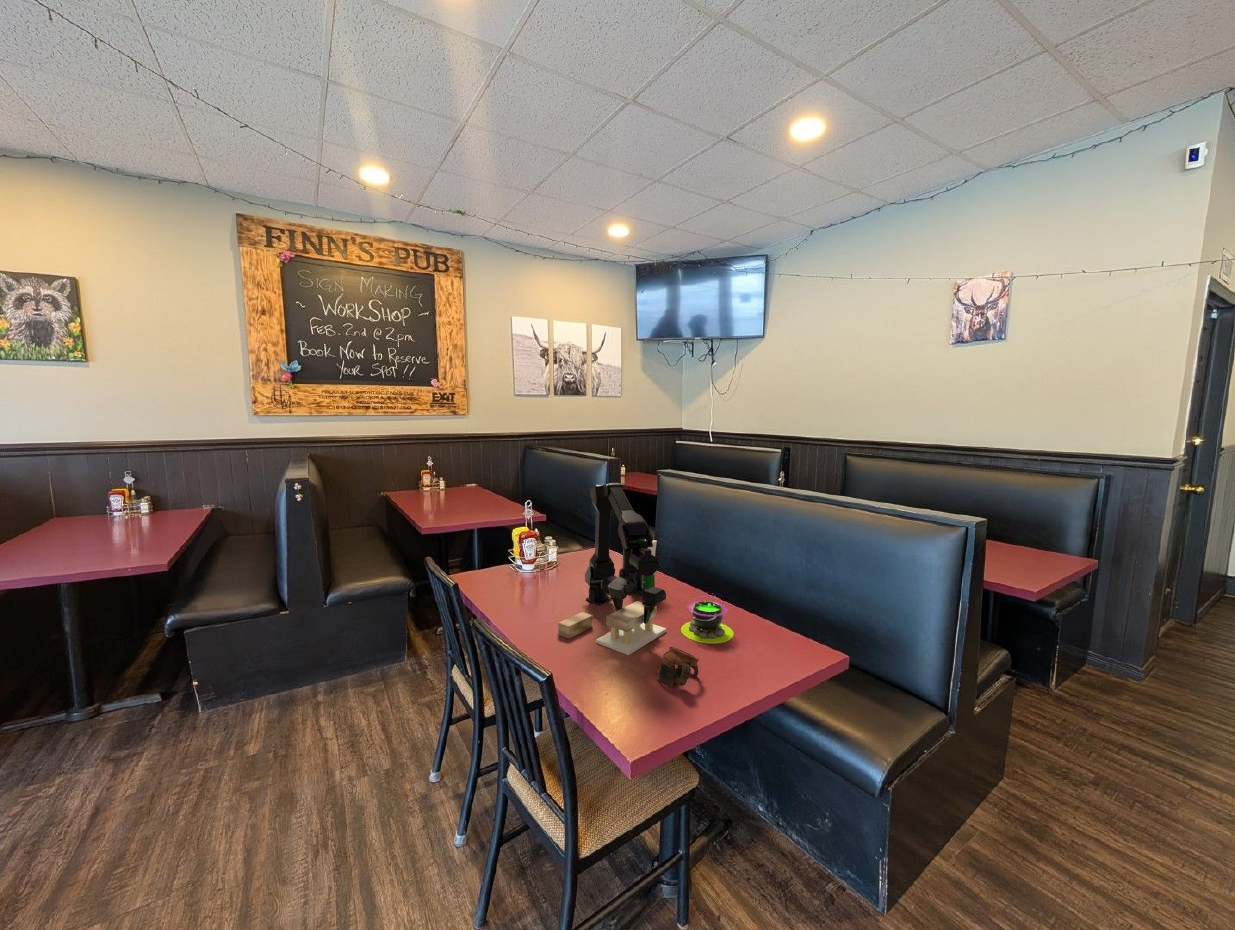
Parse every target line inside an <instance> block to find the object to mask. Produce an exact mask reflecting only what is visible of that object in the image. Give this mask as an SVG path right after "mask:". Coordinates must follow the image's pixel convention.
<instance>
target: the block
mask: <svg viewBox="0 0 1235 930" xmlns="http://www.w3.org/2000/svg"><path fill="white" fill-rule="evenodd" d="M593 616H594V615H593V614H590V613H587V612H584V611H582V612H579V613H577V614H574V615H572V616H570V617H568V618H566V619H564V620H561V621H559V622H558V624H557V625H558V632H557V633H558V636H561V637H564V638H566V639H568V640H569V639H571V638H573V637H575V636H577V635H579V634H581V633H582V632H583V633H584V632H585V631H587V630H589V629H591V628H593Z"/></svg>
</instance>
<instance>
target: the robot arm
mask: <svg viewBox="0 0 1235 930" xmlns="http://www.w3.org/2000/svg"><path fill="white" fill-rule="evenodd" d="M589 493H590V499H591V504H592V505H593V506H594V509H595V510H596V516H595V534H594V535H595V536H594V537H595V539H594V553H593V555H592V556H591V557H590V559H589V561H588V562H589V563H588V567H587V569H586V572H585V573H584V582H585V583H586V584H587V585H588V586H589V588H588V597H586V598H585V600H586V601H588V602H591V603H593V604H597V605H599V606H600V605H602V604H605V603H607V602H609V601H612V602H613V605H614V608H615V612H616V611H618V610H620V609H622V608H623V607H624V605H623V603H624V600H625V599H626V598H627V596H628V597H631V596H633V594H636V595H638V596H641V597H642V601H643V602H642V601H641V602H642V605H643V606H644V624H647V623H648V621H649V619H650V616H651V614H652V612H653V610H654V608H655V607H657V605H658V604H659V603H662V602H663V601H666V600H667V591H666V590H665V589H663V588H660V587H656V586H655V587H652V588H650V589H644V588H643V587H644V586H646V582H644V581H643V576H651V575H653V574H654V573H655V574H656V572H657V570H658V568H659V562H658V561H659V560H658V559H657V557H656V555H655V556H653V555H652V554H651V550H650V549H648V547H653V543H652V541H653V540H654V539H653V537H652V533H651V531H650V528H649V525H648V523H647V522H646V520H645V519H644V517H643V516H642V515H640V514H639V513H636V511H634V509H633V507H632V505H631V503H630V502H629V500H628V497H627V496H626V494H625V491H624V487H623V484H622V483H620V482H609V483H606V484H594V486H593V487H592V488H591V489H590V491H589ZM613 511H614V513H615V515H616V518H617V519H618V521H619V524H618V526H617V527H618V528H617V531H618V536H619V538H620V539H619V540H620V542H621V545H622V567H621V568H620V569H619V571H618V576H616V568H615V563H614V561H613V560H612V558H611V557H610V541H611V523H612V522H611V520H612V519H611V517H612V512H613ZM644 539H645V540H646V541H639V540H644ZM635 541H639V542H635Z"/></svg>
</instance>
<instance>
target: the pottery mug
mask: <svg viewBox="0 0 1235 930" xmlns="http://www.w3.org/2000/svg"><path fill="white" fill-rule="evenodd" d="M661 660H662V661H661V664H660V668H658V669H657V673H656V675H657V676H656V679H657V681H659V682H660V683H661V684H663V685H664V686H667V687H669V688H670V689H673V688H674V684H675V683H676V685H678V686H681V687H682V686H685V685H686V684H687V682H688V680H689V679H690V675H691V671H692V670H693V677H694V678H697V677H698V675H699V666H698V662H699V659H698V658H697V657H696V656H695V655H692V654H690V653H687V652H685V651H684V650H682V649H679V648H676V647H674V646H670V647H669V650H668V651H666V652H664V654H663V655H662V659H661ZM676 665H677V668H676Z"/></svg>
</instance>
